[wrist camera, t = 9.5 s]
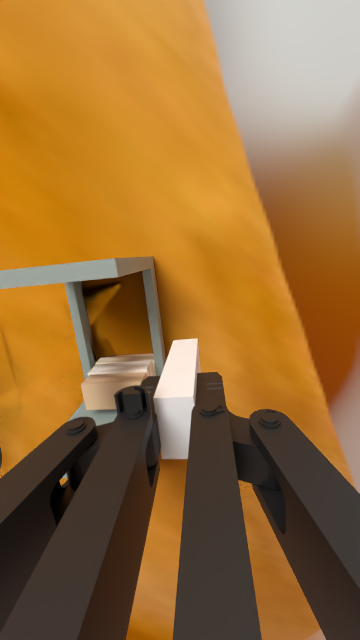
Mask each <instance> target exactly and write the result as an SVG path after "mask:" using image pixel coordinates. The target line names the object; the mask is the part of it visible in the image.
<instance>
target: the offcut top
mask: <svg viewBox="0 0 360 640" xmlns="http://www.w3.org/2000/svg"><path fill="white" fill-rule="evenodd" d="M146 378H147V375H146V372H135V373H114V374H93V375H89V376H88V377H87V378H86V379H85V381H84V382H83V383H82V384H81V388H82V393H83V397H84V402H85V407H86V410H104V409H116V403H115V398H114V394H115V393H116V392H117V391H119V390H121V389H122V388H125V387H128V386H134V385H140V384H141V382H142V381H143V380H144V379H146Z"/></svg>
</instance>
